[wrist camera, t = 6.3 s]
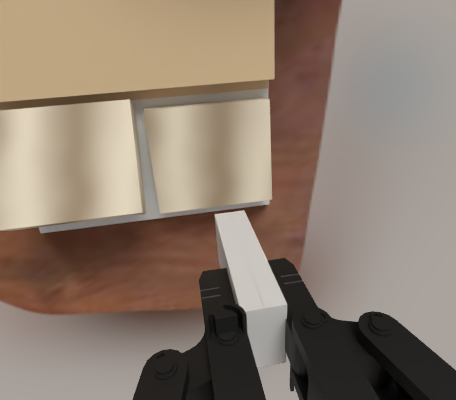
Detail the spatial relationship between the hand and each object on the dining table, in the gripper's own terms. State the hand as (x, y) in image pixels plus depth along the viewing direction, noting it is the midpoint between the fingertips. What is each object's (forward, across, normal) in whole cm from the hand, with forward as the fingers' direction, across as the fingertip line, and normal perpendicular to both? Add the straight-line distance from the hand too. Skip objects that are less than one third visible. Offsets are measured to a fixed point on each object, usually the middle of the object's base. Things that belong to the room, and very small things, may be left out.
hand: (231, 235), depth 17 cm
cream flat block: (+10, -10, +1) cm, 14 cm away
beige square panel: (+12, 0, +1) cm, 12 cm away
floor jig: (+13, -5, +4) cm, 14 cm away
